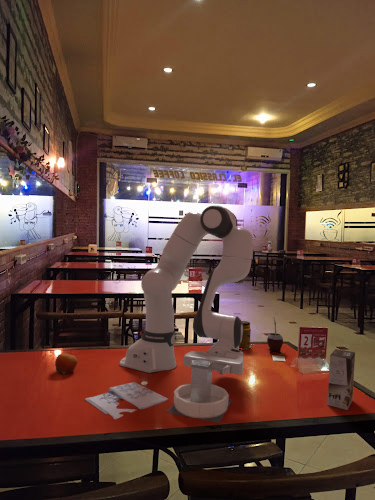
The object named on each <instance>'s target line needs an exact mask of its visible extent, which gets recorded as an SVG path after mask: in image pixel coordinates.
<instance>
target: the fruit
mask: <svg viewBox="0 0 375 500" xmlns="http://www.w3.org/2000/svg"><path fill="white" fill-rule="evenodd" d="M78 363H79V360H78V358H77V356H75V355H72V354H70V353H65V352H63V353H61V354H58V355H57V356H56V359H55V361H54V366H55V370H56V371H55V372H56V373H55V374H57V373H62V374H63V375H65V374H68V373H69V374H70V373H72V372H74V370H75V368H76V367H77V365H78Z"/></svg>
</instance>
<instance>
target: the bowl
mask: <svg viewBox="0 0 375 500" xmlns="http://www.w3.org/2000/svg"><path fill="white" fill-rule="evenodd" d="M229 398H230V395H229V393H228V392H227V390H226V389H225V388H223V387H221V386H219V385H217V384H213V383H212V391H211V402H210V403H195V402H190V400H191V382H189V383H185V384H182V385H179V386H178V387H177V388H176V389H175V390H174V391H173V404H174V406H175V409H176V410H177V411H178V412H179V413H181V414H183V415H185V416H184V417H187V416H188V417H187V418H192V417H193V419H197V418H201V419H207V418H214V417H218V416H221V415H223V414H224V413H225V412H227V411H228V409H227V406H228V401H229V400H230V399H229ZM225 414H226V413H225ZM225 414H224V415H225ZM201 419H200V420H201Z"/></svg>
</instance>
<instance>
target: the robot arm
mask: <svg viewBox="0 0 375 500" xmlns="http://www.w3.org/2000/svg"><path fill="white" fill-rule="evenodd" d="M207 235H211V236H214V237H216V238H218V239H220V240H221V241H222V253H221V258H220V262H219V264H218V265H217V266H216V268H215V267H214V268H213V269H212V270H211V271H210V273H209V275H208V277H207V280H206V282H205V286H204V289H203V292H202V296H201V300H200V303H199V306H198V308H197V311H196V314H195V315H194V316H195V317H194V318H193V323H192V329H193V331H194V333H195V334H196V335H197V336H198V337H199V338H206V339H213V340H214V339H215V340H217V341H216V342H215V343H214V344H213V345H211V346H210V347H209V349H207V351H198V350H191V351H189V352H187V353H185V354H184V356H183V365H184V366H185V367H190V370H191V371H192V367H191V364H192V363H193V362H194V361H196V360H197V359H198V360H205V361H212V362H213V365H212V372H214V371H215V372H218V374H219V375H222V376H224V375H225V374H233V375H242V374H243V373H244V363H245V362H244V361H245V360H244V352H243V350H239V345H240V344H241V343H242V340H243V335H244V326H243V323H242V321H243V320H242V319H241V318H240V317H239V316H238V315H233V314H228V313H220V312H215V311H212V307H213V303H214V300H215V296H216V293H217V291H218V290H219V289H220V287H221V286H225V285H227V284H233V283H237V282H240V281H241V280H244V279H245V278H246V277H247V276H249V275H248V274H250V271H251V265H252V261H253V248H254V246H253V235H252V233H251V231H249V230H248V229H247V228H245V227H239V226H238V218H237V216H236V215H235V213H233V212H232V211H231V210H230V209H228V208H227V207H223V206H221V205H216V204H214V205H209V206H207V207H206V208H205V209H204V210H203V211H202V212H201V213H199V212H197V211H188V212H187V213H186V214H184V216H183V217H182V219H181V220H180V221H179V222H178V223H177V225H176V226H175V229H174V230H173V232H172V234H171V235H170V237H169V239H168V241H167V242H166V244H165V246H164V248H163V250H162V254H161V256H160V259H159V261H158V264H157V265H156V266H155V268H152V269H150V270H148V271H147V272H146V273H145V274H144V276H143V277H142V279H141V284H140V286H141V289H142V291H143V297H144V299H143V300H144V305H145V328H144V329H142V330H141V331H140V332H139V336H141V338H139V339H138V340H136V341H135V342H134V343H132V344H131V345H130V346H129V347H128V348H127V349H126V353H125V357H123V358H122V359H120V361H119V366H122V367H124V368H129V369H132V370H136V371H140V372H144V373H149V374H151V373H156V372H162V371H170V370H173V369H175V368H176V367H177V362H176V357H175V348H174V346H175V339H176V338H175V335H176V334H175V329H174V325H175V309H174V306H173V304H174V303H173V296H172V295H173V294H172V293H173V291H174V290H175V289H176V288H177V287H178V285H179V282H180V281H181V279H182V277H183V275H184V273H185V270H186V268H187V266H188V264H189V262H190V260H191V259H192V257H193V256H194V254H195V252H196V250H197V249H198V246H199V245H200V243H201V242H202V240H203V239H204V238H205V237H206V236H207Z"/></svg>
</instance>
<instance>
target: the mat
mask: <svg viewBox="0 0 375 500" xmlns="http://www.w3.org/2000/svg"><path fill="white" fill-rule="evenodd" d="M232 402H233V400H232V399H229V401H228V406H227V410H228V409H229V408H230V406H231V404H232ZM226 412H227V411H226ZM226 412H225V413H224V414H223V415H221V416H218V417H214V418H207V419H201V418H196V419H197V420H201V421H208V422H213V423H216V424H220V423H221V421H222V420H223V418H224V416H225V414H226ZM166 413H167V414H173V415H178V416H183V417H187V418H189V417H188V416H185V415H183V414H181V413H179V412H178V411H177V410H176V409H175V406H174V403H173V404H172V405H171V406H170V407H169V408H168V409H167V411H166ZM191 418H193V417H191ZM193 419H194V418H193Z"/></svg>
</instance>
